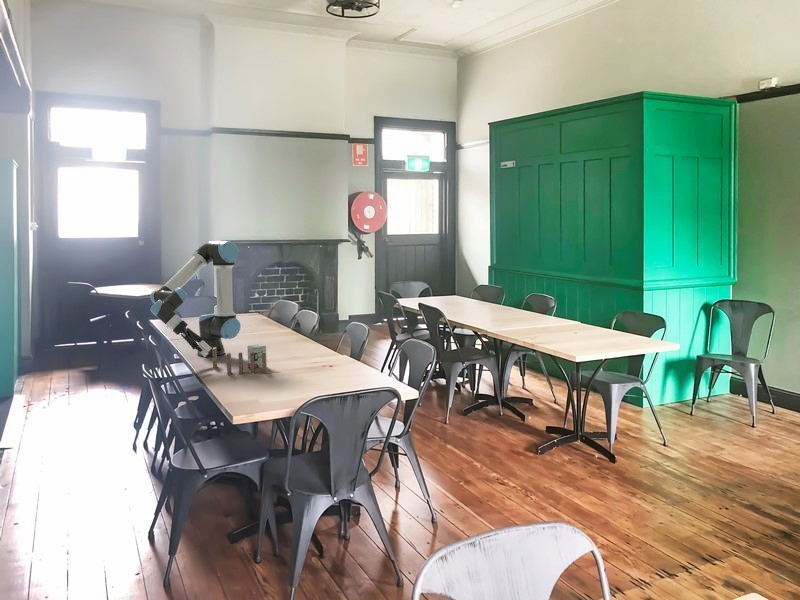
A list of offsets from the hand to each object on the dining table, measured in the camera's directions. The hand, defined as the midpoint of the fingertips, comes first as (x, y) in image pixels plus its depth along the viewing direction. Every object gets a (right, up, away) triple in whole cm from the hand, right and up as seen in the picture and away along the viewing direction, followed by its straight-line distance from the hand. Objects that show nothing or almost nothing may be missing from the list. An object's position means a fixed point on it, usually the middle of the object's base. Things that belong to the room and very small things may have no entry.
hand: (208, 352), depth 354 cm
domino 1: (+14, -9, -13) cm, 21 cm away
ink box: (+25, -8, 0) cm, 27 cm away
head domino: (+3, -8, +2) cm, 9 cm away
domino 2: (+20, -9, -12) cm, 25 cm away
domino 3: (+25, -9, -11) cm, 29 cm away
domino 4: (+31, -9, -10) cm, 34 cm away
